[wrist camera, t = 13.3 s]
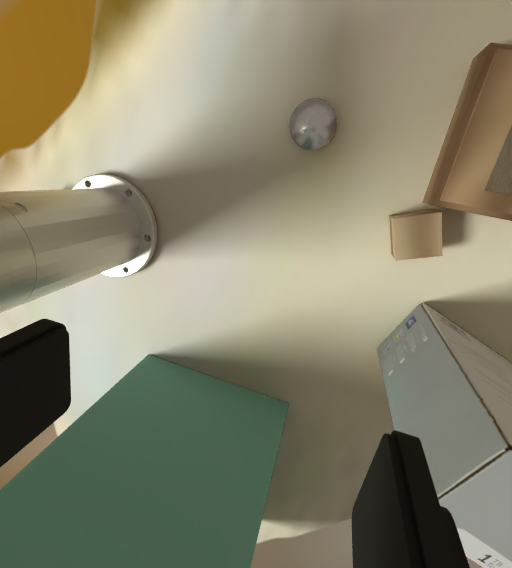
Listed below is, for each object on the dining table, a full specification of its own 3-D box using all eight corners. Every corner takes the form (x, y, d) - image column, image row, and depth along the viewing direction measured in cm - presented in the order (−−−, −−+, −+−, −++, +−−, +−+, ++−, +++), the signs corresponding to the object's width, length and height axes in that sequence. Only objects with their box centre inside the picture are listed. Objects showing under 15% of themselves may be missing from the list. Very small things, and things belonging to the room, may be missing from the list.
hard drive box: (373, 349, 37) (404, 516, 19) (421, 299, 34) (512, 440, 16) (487, 427, 37) (634, 678, 18) (545, 384, 34) (790, 631, 15)
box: (253, 518, 51) (173, 825, 27) (136, 469, 54) (-28, 703, 30) (289, 403, 42) (219, 697, 18) (148, 354, 46) (-66, 548, 22)
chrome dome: (286, 144, 33) (284, 143, 32) (298, 97, 31) (296, 94, 30) (328, 154, 32) (328, 153, 31) (342, 106, 31) (342, 103, 30)
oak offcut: (391, 253, 34) (395, 260, 31) (389, 215, 33) (393, 218, 30) (433, 249, 32) (442, 255, 30) (433, 209, 31) (441, 212, 29)
